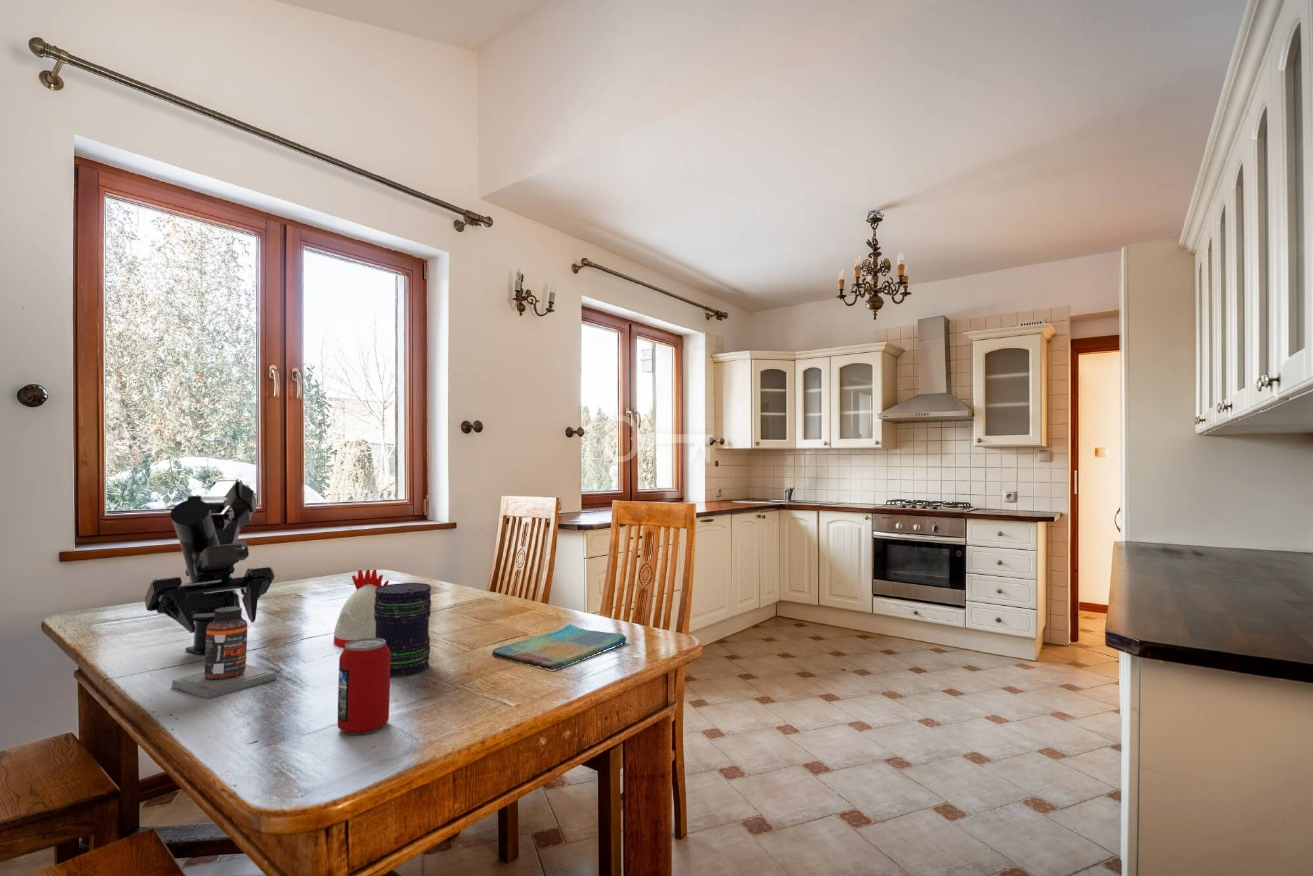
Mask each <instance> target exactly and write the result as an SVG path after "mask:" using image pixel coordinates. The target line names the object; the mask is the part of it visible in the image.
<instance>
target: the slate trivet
mask: <svg viewBox="0 0 1313 876" xmlns="http://www.w3.org/2000/svg"><path fill="white" fill-rule="evenodd" d="M204 673H205V671H202V672H199V673H194V674H191V675H187V676H182V677H179V678H175V679H171V680H172V681H171V688H173V689H176V690H179V691H182V692H185V693H189V694H193V695H195V696H198V697H201V698H205V699H208V700H209V699H212V698H216V697H219V696H222V695H225V694H228V693H234V692H236V691H239V690H244V689H246V688H250V687H253V686H257V685H260V684H264V683H267V682H270V681H275V680H276V679H277V671H274V670H270V669H266V668H262V667H258V666H254V665H251V664H246V667H245V671H244V673H242V674H240V675H238V676H236V677H232V678H227V679H208V678H206V677H205V675H204Z"/></svg>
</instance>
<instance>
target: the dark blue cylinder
mask: <svg viewBox="0 0 1313 876" xmlns="http://www.w3.org/2000/svg"><path fill="white" fill-rule="evenodd" d="M383 585H384V584H383ZM383 585H382V586H380V587H377V588H376V589H375V594H376V597H375V603H374V610H375V615H374V620H375V621H376V632H375V638H381V639H384V640H385V641H386V645H387V646H388V648H389V650H390V679H395V678H396V679H397V678H405V677H411V676H416V675H419V674H422V673H424V672H426V671H427V670H429V668H430V663H429V660H430V653H431V645H430V644H431V643H430V642H431V639H430V636H429V633H430V632H429V631H430V630H429V629H430V628H429V626H430V624H429V623H430V617H431V612H432V611H431V607H432V599H431V598H432V596H431V595H432V594H431V590H432V585H430V584H429V583H422V582H421V583H420V582H400V583H392V584H391V583H390V584H388V585H384V586H383Z"/></svg>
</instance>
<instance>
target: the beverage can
mask: <svg viewBox="0 0 1313 876" xmlns="http://www.w3.org/2000/svg"><path fill="white" fill-rule="evenodd" d="M338 661H339V662H338V684H337V685H338V687H337V689H338V690H337V691H338V692H337V728H338V730H340V731H342V732H345V734H349V735H365V734H369V733H372V732H375V731H378V730H379V729H380V728H382V727H383V726H384V725H385V724H387V722H389V719H390V718H389V717H390V693H391V692H390V691H391V678H390V650H389V648H388V646H387V645H386V641H385V640H384V639H381V638H364V639H358V640H353V641H350V642H348V643H346V644H345V647H343V649H342V651H341V653H340V655H339V659H338Z"/></svg>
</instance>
